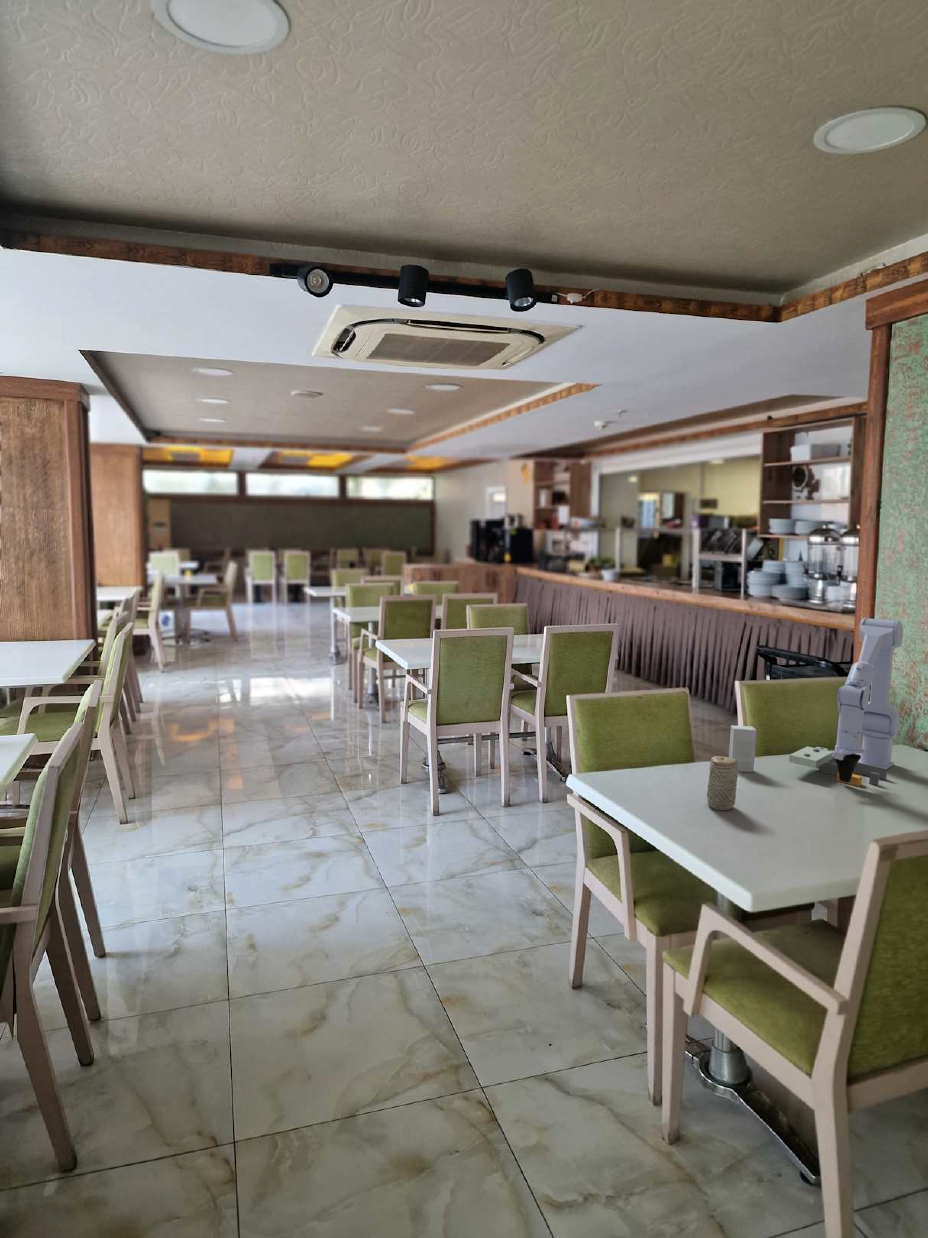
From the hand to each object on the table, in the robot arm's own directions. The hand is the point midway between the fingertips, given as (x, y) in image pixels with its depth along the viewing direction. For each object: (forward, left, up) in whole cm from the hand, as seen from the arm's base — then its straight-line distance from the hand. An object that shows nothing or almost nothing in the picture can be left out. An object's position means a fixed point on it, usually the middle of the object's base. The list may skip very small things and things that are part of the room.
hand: (844, 781), depth 203 cm
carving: (+42, -14, -1) cm, 44 cm away
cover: (-5, -10, -1) cm, 11 cm away
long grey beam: (-11, -1, -1) cm, 11 cm away
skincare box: (+9, -24, -1) cm, 26 cm away
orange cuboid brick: (-4, 0, -1) cm, 4 cm away
